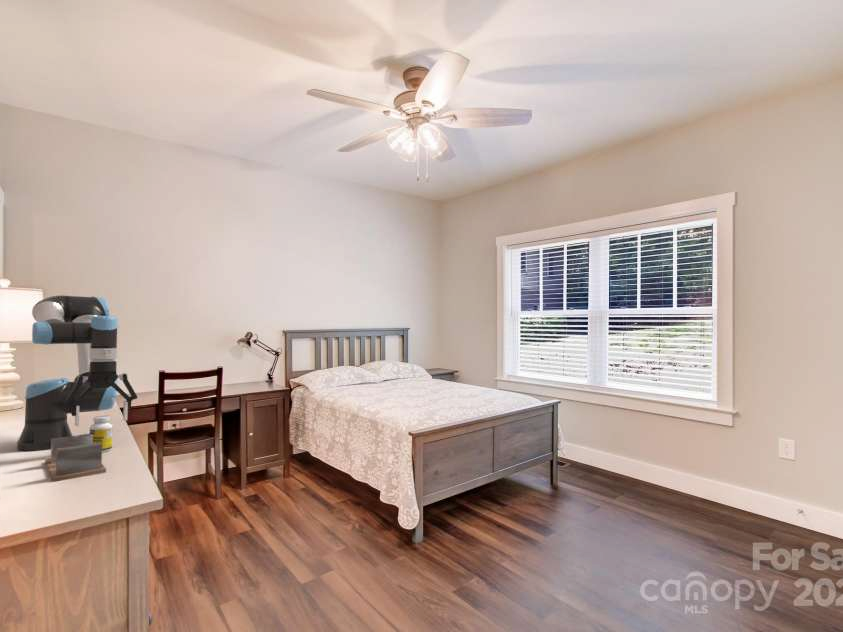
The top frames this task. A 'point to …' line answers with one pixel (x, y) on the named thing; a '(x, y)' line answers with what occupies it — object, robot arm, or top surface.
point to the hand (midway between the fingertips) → (101, 422)
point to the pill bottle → (102, 432)
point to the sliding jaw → (68, 443)
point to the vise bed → (76, 462)
